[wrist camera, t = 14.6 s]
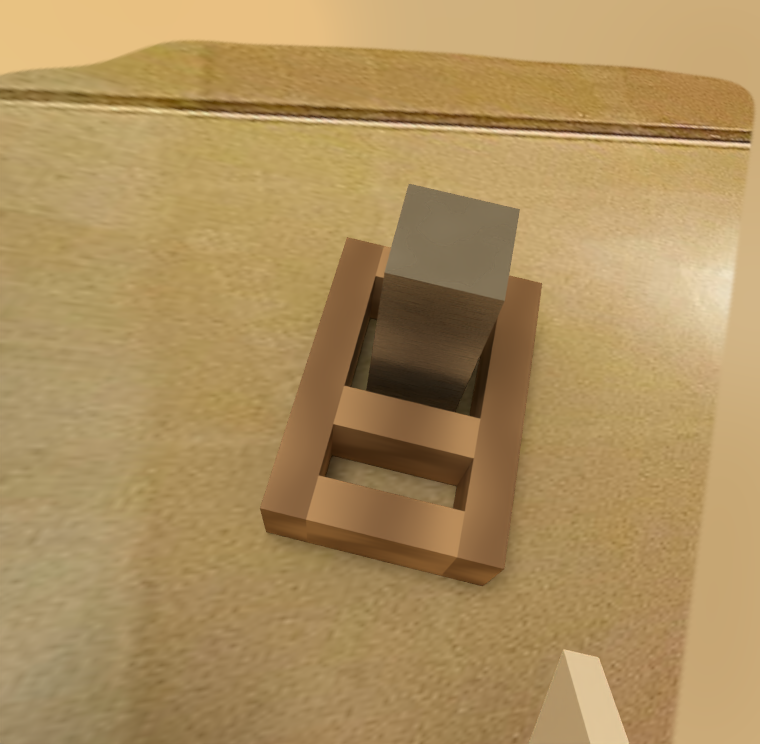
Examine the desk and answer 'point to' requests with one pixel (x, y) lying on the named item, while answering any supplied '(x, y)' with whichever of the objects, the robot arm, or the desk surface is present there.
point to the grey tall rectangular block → (440, 295)
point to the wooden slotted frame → (403, 440)
